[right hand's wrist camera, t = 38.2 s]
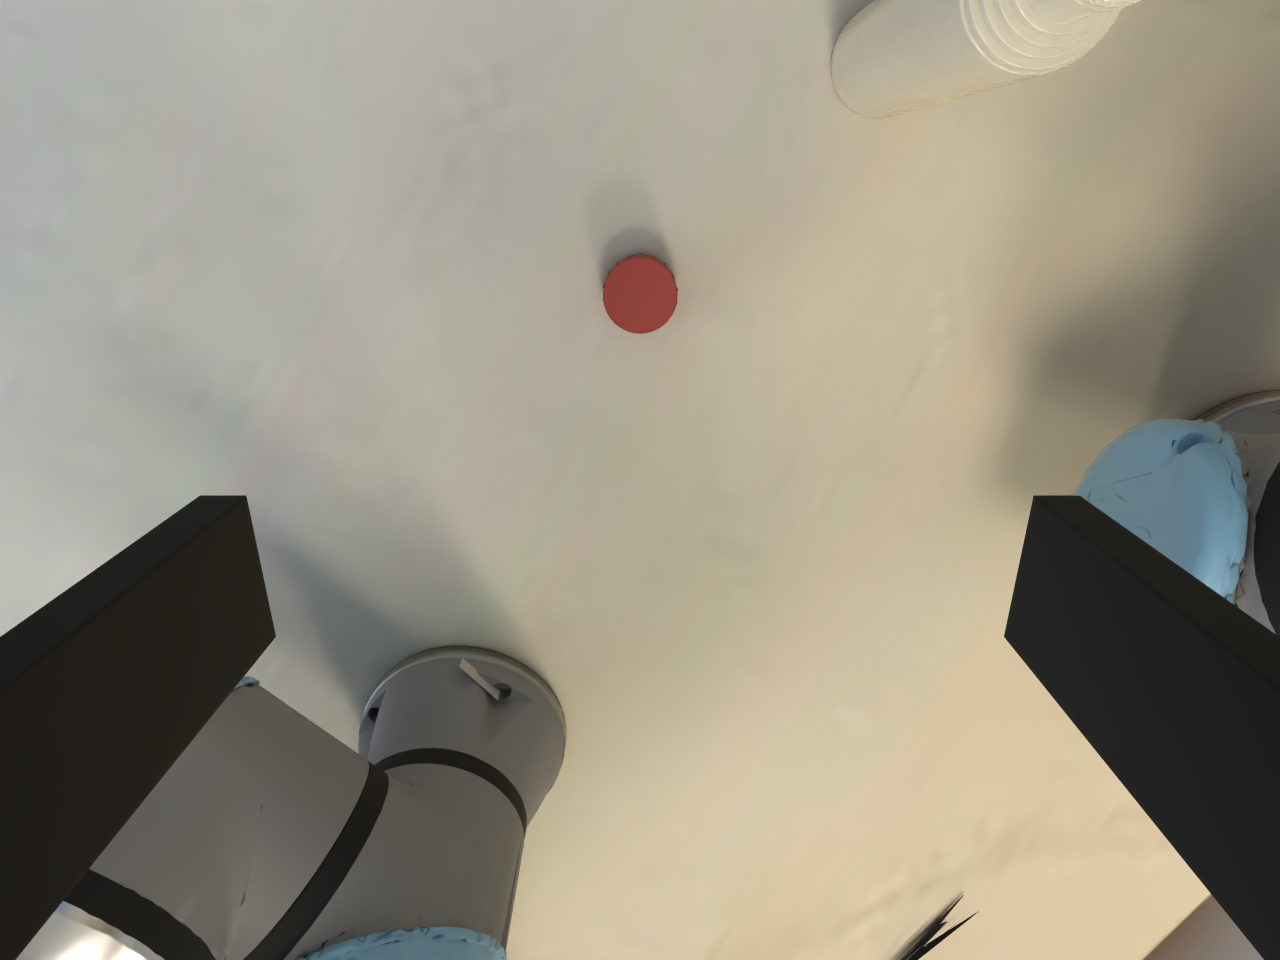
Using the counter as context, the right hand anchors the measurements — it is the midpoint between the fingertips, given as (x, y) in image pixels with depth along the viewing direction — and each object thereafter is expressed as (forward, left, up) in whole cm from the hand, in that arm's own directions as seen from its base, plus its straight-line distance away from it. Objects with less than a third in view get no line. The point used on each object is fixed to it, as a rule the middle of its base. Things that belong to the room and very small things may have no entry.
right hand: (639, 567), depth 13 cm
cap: (0, 0, -33) cm, 33 cm away
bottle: (+9, -16, -35) cm, 40 cm away
